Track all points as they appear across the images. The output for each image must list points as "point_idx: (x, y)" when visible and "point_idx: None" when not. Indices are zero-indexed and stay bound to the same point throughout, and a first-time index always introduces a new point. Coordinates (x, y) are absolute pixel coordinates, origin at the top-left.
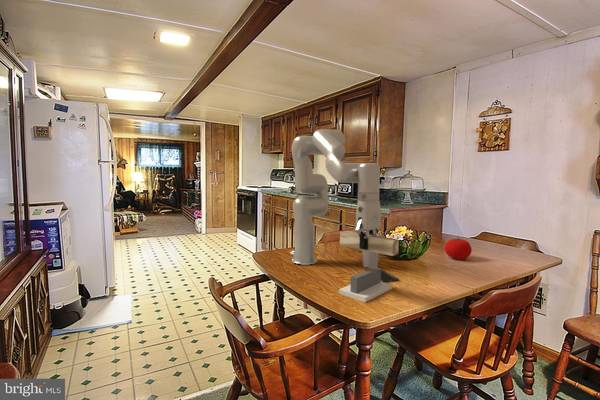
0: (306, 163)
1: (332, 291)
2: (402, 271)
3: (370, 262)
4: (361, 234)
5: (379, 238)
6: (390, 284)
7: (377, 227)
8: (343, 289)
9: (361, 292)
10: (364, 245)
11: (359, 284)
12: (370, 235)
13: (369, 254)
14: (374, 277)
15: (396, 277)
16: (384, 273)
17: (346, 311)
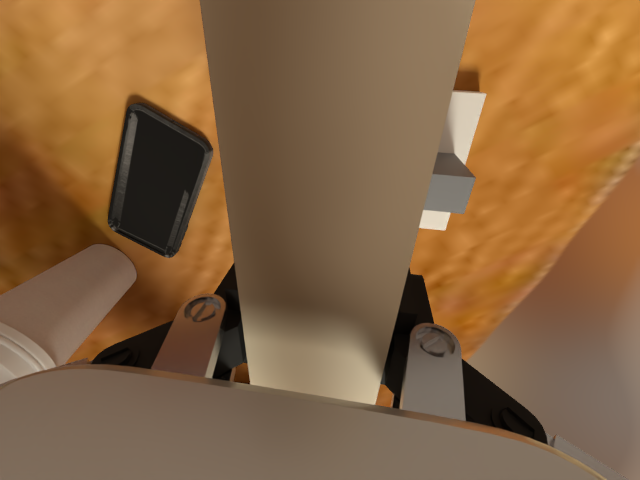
0: None
1: (435, 248)
2: (33, 145)
3: (111, 269)
4: (530, 413)
5: (400, 162)
6: None
7: (160, 388)
8: (436, 217)
9: None
10: (416, 280)
11: (438, 162)
12: (280, 336)
13: (91, 294)
14: None
15: (125, 122)
16: (131, 187)
17: (625, 104)
